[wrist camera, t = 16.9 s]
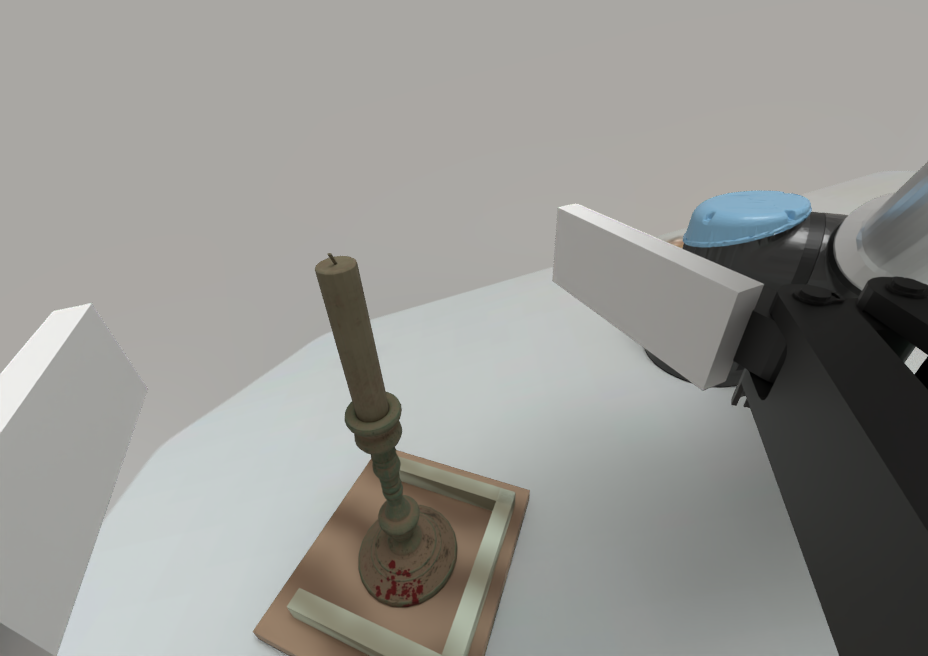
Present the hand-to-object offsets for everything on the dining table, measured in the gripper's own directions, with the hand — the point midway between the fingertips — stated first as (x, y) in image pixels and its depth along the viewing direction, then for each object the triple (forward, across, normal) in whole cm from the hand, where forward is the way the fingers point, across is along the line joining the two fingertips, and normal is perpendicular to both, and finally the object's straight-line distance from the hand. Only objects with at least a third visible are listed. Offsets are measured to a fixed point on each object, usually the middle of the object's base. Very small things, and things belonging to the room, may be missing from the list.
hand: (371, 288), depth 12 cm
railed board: (+10, 0, -34) cm, 35 cm away
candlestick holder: (+10, 0, -32) cm, 34 cm away
